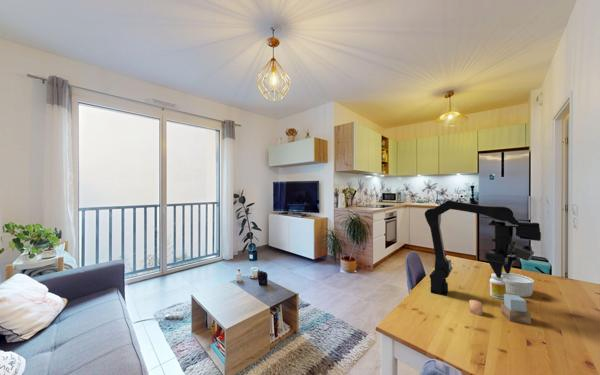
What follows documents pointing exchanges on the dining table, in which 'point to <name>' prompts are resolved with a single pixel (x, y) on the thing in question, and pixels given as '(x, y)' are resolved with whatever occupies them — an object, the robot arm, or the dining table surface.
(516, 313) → the walnut base block
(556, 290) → the dining table surface
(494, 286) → the supplement bottle
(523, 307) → the slate block
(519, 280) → the ramekin
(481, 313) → the terracotta dowel
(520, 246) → the robot arm
